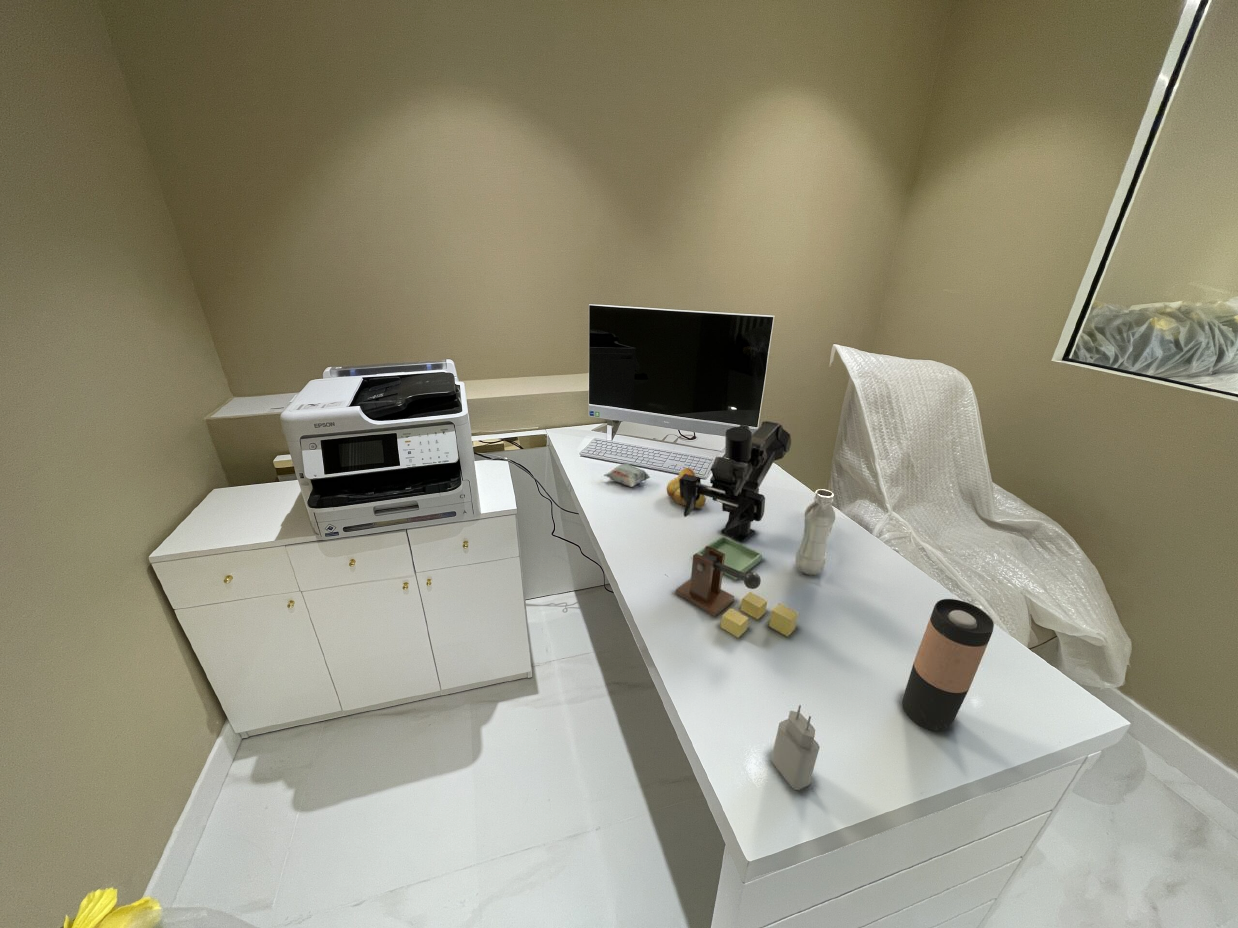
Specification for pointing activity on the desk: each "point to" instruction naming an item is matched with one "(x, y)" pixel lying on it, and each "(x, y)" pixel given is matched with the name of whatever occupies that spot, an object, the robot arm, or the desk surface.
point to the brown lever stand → (706, 584)
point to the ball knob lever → (736, 573)
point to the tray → (735, 554)
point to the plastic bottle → (816, 533)
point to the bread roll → (674, 489)
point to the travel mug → (946, 663)
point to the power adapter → (795, 750)
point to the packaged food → (627, 475)
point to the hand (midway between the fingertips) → (704, 521)
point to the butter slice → (783, 619)
